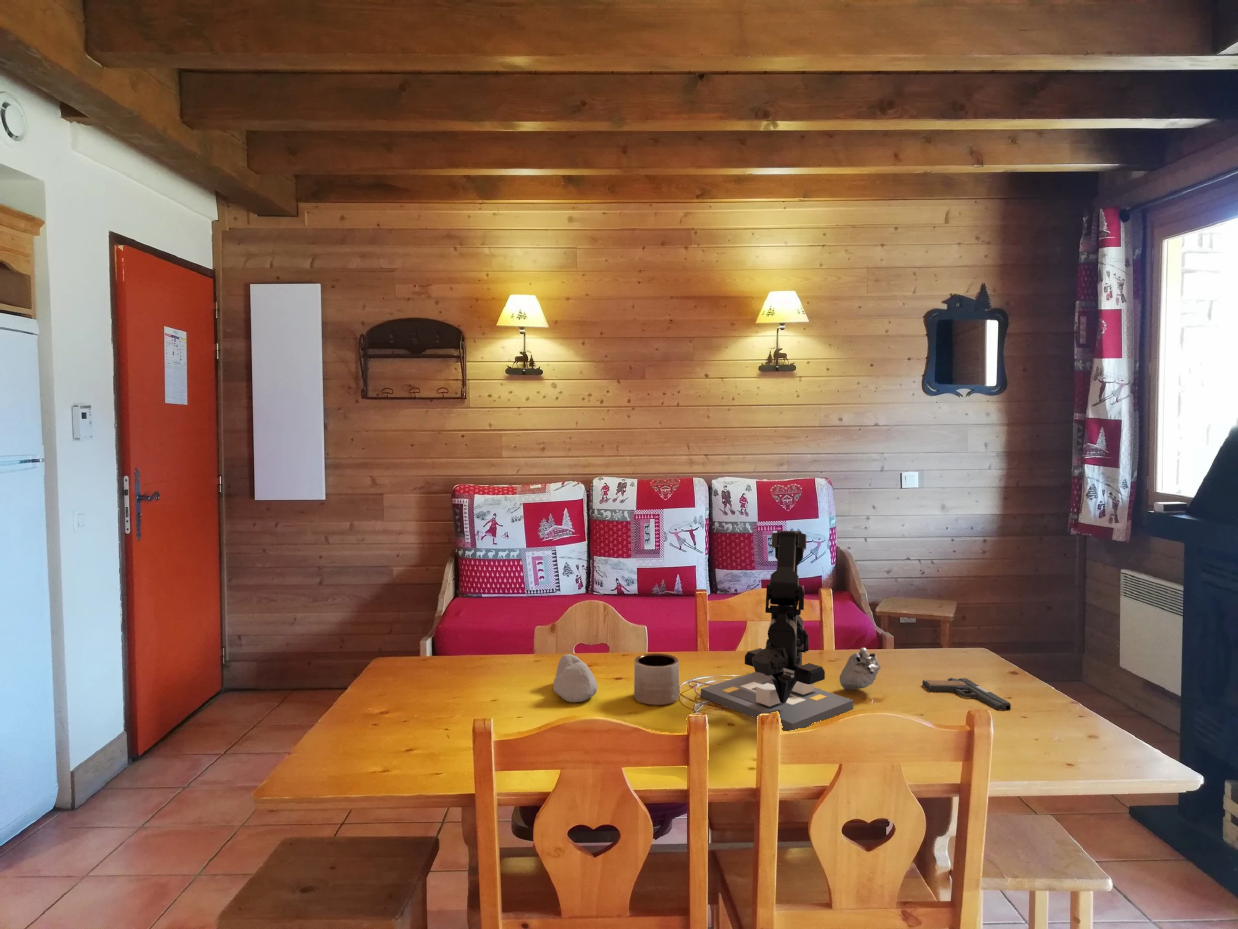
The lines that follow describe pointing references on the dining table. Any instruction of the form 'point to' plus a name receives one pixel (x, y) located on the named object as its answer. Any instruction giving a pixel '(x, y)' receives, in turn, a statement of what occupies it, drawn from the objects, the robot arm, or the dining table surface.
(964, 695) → the handgun
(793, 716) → the switch board
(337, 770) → the dining table surface
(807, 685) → the peach cube
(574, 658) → the decorative stone
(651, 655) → the planter
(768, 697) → the block
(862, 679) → the heart
